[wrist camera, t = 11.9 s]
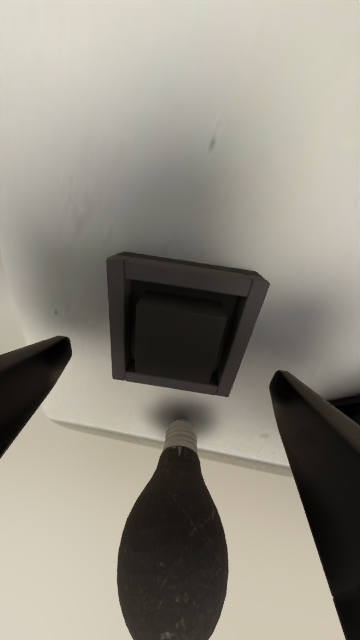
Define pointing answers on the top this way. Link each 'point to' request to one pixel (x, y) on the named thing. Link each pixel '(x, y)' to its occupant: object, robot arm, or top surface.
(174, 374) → the black block
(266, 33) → the top surface
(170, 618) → the light bulb
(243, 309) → the base pad
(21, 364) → the robot arm
